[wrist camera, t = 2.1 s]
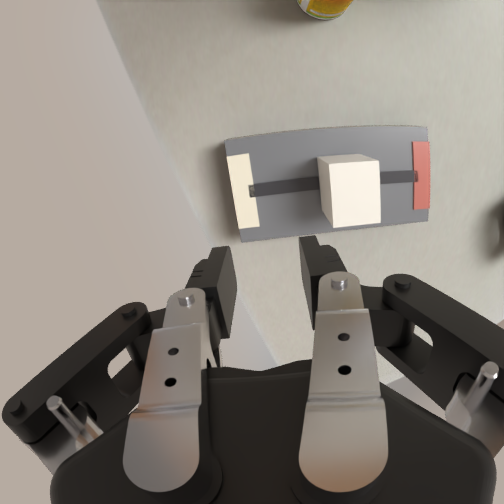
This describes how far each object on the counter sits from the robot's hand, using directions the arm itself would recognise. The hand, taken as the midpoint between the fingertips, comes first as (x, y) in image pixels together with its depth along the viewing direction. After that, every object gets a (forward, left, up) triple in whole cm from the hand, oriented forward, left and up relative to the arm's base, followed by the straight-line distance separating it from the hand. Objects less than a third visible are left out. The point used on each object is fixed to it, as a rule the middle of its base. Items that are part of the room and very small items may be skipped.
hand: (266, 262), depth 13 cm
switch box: (-7, 0, -19) cm, 20 cm away
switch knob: (-7, 0, -15) cm, 16 cm away
